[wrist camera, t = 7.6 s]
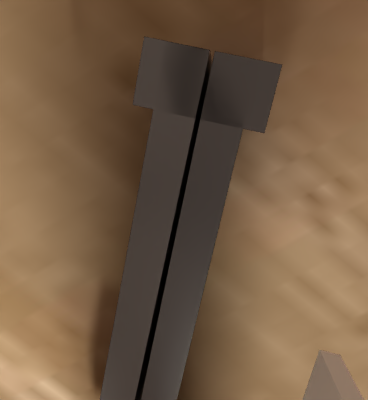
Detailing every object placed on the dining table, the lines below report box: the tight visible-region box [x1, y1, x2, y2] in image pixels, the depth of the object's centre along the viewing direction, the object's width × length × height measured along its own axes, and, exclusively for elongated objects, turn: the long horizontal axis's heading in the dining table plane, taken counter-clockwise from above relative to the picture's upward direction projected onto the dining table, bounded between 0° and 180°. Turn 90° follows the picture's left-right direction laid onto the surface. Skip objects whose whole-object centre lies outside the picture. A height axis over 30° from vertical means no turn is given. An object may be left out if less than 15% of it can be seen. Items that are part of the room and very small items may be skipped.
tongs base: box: [139, 51, 282, 400], centre depth 22 cm, size 32×5×7 cm, turn 168°
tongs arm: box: [100, 37, 212, 400], centre depth 21 cm, size 23×3×7 cm, turn 168°
